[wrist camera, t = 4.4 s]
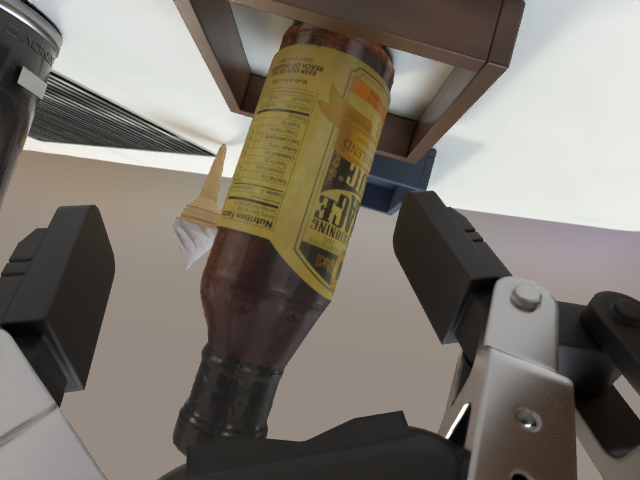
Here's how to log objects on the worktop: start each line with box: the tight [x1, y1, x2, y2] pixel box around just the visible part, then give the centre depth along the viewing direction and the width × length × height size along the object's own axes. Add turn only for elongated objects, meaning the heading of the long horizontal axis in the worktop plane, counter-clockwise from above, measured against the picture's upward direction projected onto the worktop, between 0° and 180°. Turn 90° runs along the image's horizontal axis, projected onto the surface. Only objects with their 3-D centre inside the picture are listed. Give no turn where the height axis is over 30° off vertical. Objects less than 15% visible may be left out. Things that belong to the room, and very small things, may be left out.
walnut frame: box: [173, 0, 525, 164], centre depth 20 cm, size 13×13×2 cm
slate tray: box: [360, 149, 436, 215], centre depth 36 cm, size 12×13×3 cm
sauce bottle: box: [173, 22, 395, 457], centre depth 19 cm, size 7×6×20 cm
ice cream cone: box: [173, 145, 226, 271], centre depth 46 cm, size 6×6×15 cm
